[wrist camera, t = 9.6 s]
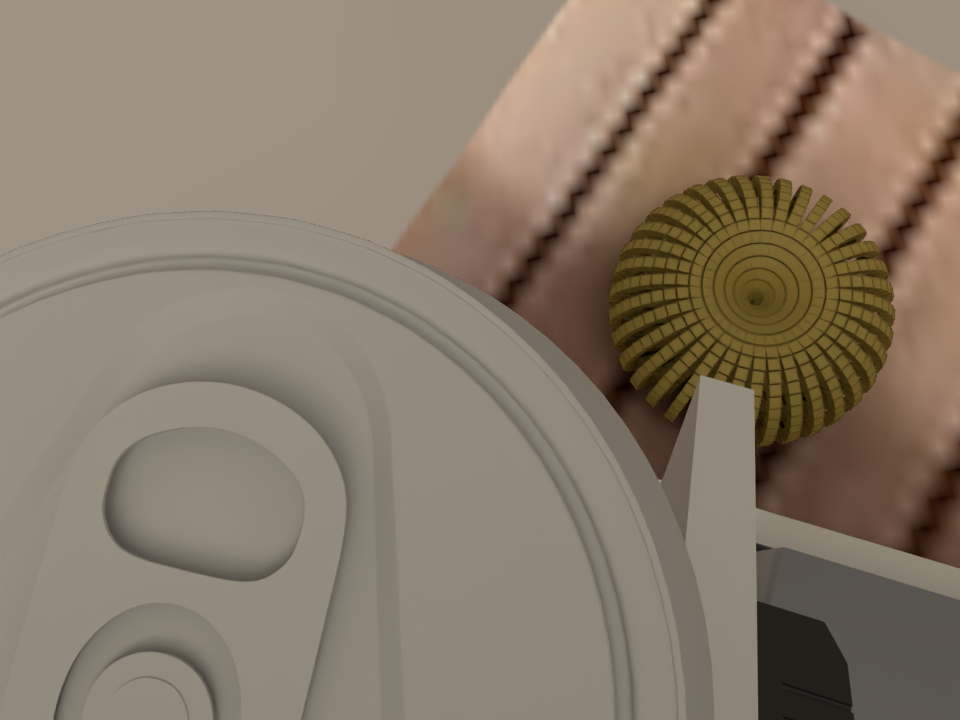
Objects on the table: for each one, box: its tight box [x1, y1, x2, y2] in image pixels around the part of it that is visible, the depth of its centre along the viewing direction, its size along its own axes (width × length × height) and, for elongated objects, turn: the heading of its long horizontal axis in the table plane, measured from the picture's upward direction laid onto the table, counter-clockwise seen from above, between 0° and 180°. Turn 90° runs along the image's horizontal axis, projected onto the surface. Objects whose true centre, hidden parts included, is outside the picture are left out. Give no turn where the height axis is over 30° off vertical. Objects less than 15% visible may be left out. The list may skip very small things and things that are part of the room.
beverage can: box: [0, 211, 714, 720], centre depth 10 cm, size 6×6×12 cm
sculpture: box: [609, 175, 895, 447], centre depth 26 cm, size 8×4×8 cm
